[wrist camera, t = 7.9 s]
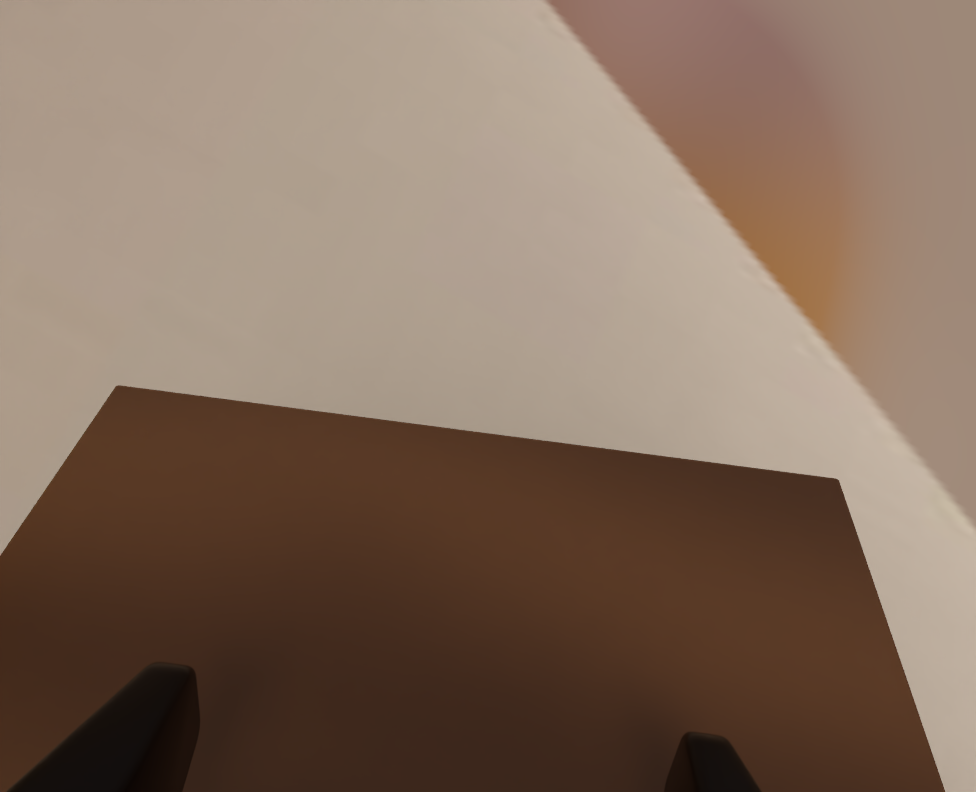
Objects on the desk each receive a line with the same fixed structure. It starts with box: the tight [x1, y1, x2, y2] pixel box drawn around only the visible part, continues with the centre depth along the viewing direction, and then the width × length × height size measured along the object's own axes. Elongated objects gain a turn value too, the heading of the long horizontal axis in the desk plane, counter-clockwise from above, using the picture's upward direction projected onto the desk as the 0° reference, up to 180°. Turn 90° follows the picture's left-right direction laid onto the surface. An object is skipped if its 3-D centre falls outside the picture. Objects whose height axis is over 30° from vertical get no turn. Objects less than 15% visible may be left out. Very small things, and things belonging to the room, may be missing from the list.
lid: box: [0, 386, 945, 792], centre depth 10 cm, size 12×13×4 cm
